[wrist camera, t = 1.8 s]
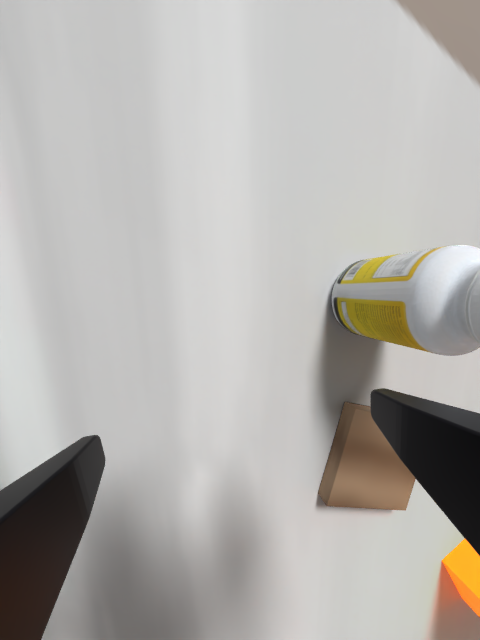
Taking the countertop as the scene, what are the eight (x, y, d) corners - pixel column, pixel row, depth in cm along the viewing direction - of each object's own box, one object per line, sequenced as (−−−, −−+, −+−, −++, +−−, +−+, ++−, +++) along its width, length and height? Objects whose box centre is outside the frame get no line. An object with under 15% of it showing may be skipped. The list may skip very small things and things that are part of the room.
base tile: (393, 498, 27) (405, 510, 25) (318, 493, 24) (327, 506, 23) (418, 415, 26) (433, 422, 25) (344, 402, 24) (355, 409, 22)
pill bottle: (367, 346, 24) (538, 397, 13) (314, 310, 22) (457, 333, 11) (402, 285, 24) (601, 282, 13) (352, 244, 22) (532, 201, 11)
